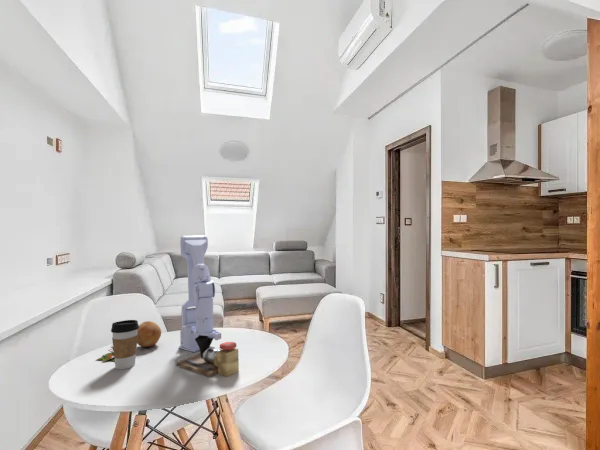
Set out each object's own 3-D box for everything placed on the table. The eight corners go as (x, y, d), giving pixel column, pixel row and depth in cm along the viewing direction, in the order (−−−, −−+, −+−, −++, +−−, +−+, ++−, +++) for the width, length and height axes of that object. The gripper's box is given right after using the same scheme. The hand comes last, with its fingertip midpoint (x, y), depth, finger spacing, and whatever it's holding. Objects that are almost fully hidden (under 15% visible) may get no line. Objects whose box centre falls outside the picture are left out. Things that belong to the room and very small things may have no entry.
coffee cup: (104, 369, 106) (104, 323, 106) (126, 359, 114) (126, 317, 114) (123, 372, 103) (123, 325, 103) (144, 362, 111) (144, 319, 111)
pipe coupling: (200, 361, 105) (205, 345, 107) (211, 362, 109) (216, 347, 110) (212, 365, 101) (217, 348, 103) (223, 366, 105) (228, 350, 107)
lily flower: (87, 363, 112) (87, 350, 113) (114, 351, 124) (114, 339, 124) (116, 365, 110) (116, 352, 110) (140, 353, 121) (140, 340, 122)
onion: (167, 343, 130) (166, 319, 130) (146, 352, 121) (146, 325, 121) (149, 341, 134) (149, 317, 134) (128, 349, 125) (128, 323, 125)
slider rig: (176, 365, 107) (176, 339, 108) (203, 354, 117) (202, 330, 117) (220, 381, 95) (220, 351, 95) (246, 367, 104) (246, 341, 104)
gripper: (181, 317, 109) (181, 357, 108) (209, 323, 101) (209, 366, 100) (198, 312, 115) (198, 350, 114) (225, 318, 106) (226, 358, 106)
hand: (204, 357), depth 108 cm, fingers closed
